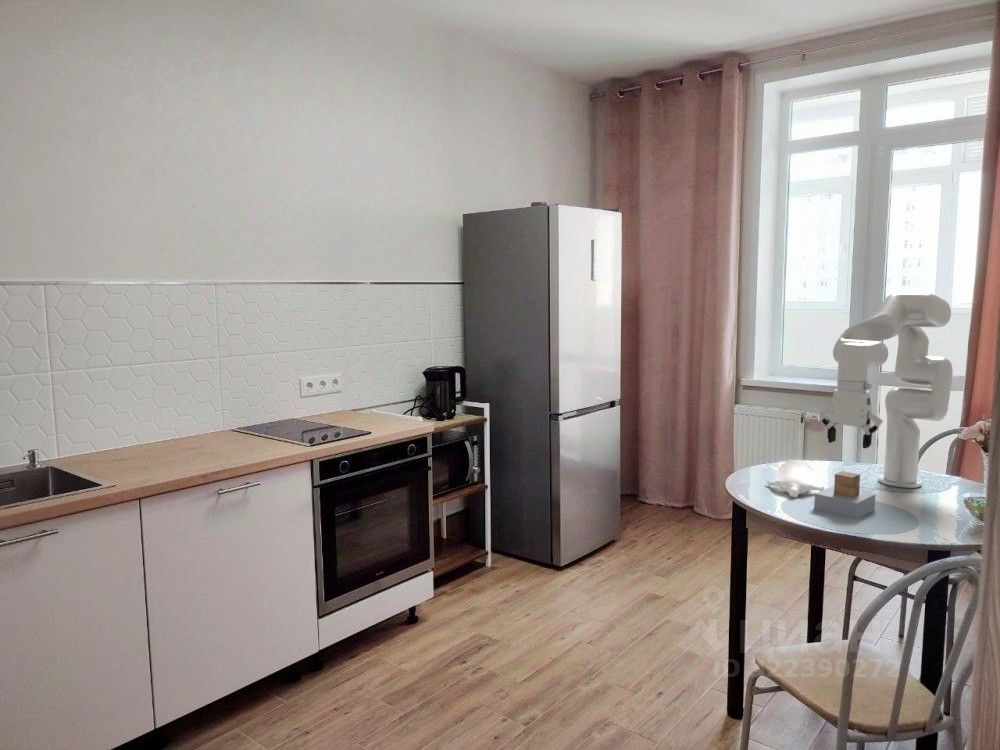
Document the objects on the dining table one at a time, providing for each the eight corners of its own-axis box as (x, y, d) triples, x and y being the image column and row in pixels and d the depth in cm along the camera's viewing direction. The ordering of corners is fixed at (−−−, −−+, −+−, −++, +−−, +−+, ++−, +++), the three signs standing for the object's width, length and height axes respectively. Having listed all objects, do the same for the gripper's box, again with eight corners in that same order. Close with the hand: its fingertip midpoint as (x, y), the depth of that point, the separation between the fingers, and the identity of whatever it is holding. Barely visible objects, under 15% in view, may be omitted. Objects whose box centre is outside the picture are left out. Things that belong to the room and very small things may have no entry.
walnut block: (841, 490, 206) (842, 470, 205) (858, 494, 202) (860, 474, 201) (833, 494, 203) (834, 474, 202) (851, 497, 199) (852, 477, 198)
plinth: (832, 501, 212) (833, 485, 211) (874, 511, 203) (875, 494, 202) (814, 510, 204) (814, 493, 203) (856, 520, 195) (857, 503, 194)
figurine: (770, 475, 240) (763, 496, 217) (771, 451, 238) (764, 470, 216) (824, 481, 232) (823, 503, 210) (826, 456, 231) (824, 476, 209)
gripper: (889, 387, 194) (885, 447, 197) (827, 381, 208) (824, 437, 210) (878, 391, 190) (874, 452, 192) (815, 384, 203) (812, 441, 205)
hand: (848, 444), depth 201 cm, fingers open, 9 cm apart
